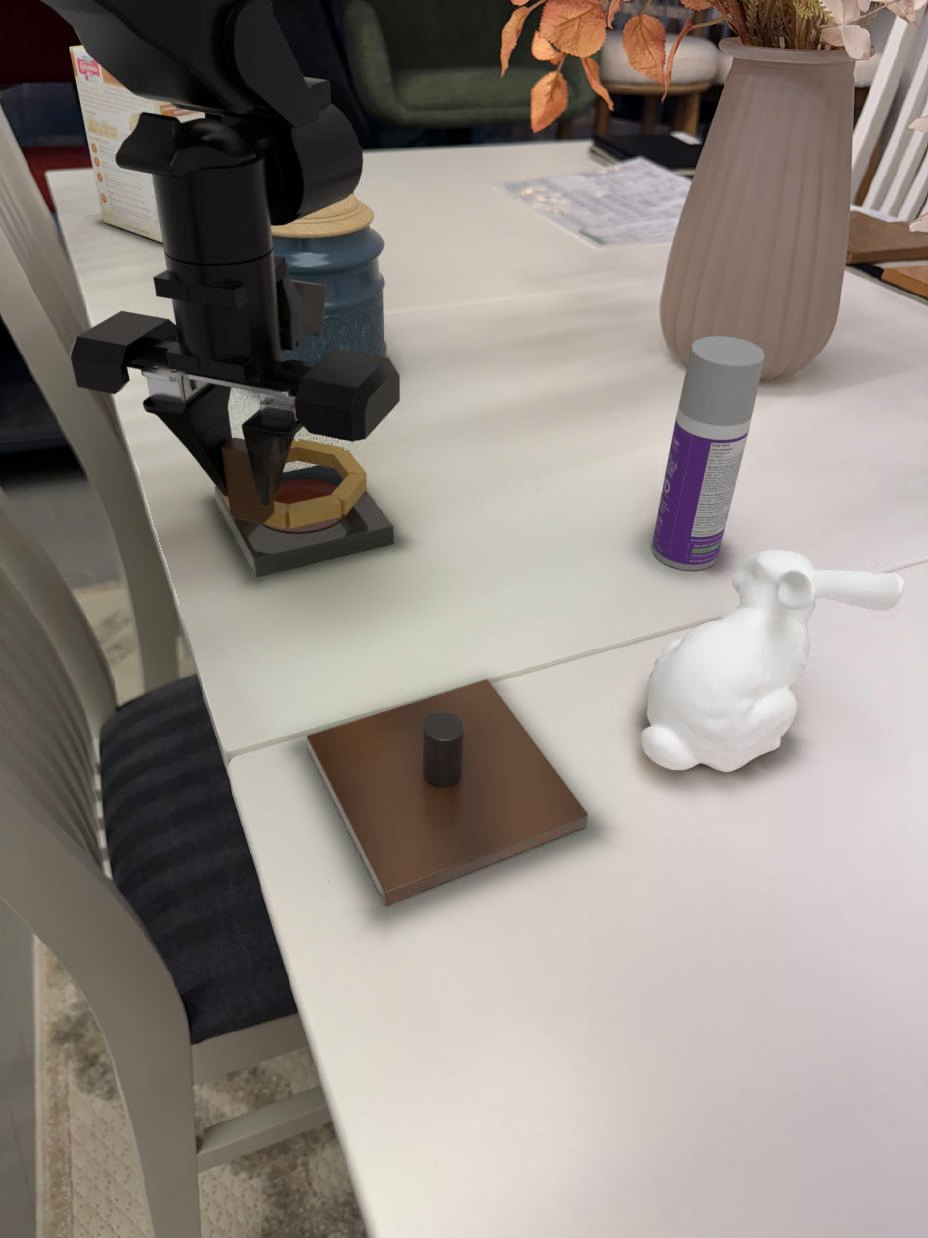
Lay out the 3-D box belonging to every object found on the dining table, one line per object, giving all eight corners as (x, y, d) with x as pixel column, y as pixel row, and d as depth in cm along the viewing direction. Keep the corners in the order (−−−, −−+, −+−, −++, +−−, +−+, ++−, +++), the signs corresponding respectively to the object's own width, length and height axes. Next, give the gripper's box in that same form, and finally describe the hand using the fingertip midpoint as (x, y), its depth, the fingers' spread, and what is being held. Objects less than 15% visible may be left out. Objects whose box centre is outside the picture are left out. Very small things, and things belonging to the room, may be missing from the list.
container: (638, 540, 68) (674, 340, 59) (693, 528, 70) (736, 330, 61) (674, 576, 65) (718, 370, 56) (731, 562, 67) (783, 359, 57)
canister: (251, 344, 93) (229, 148, 82) (384, 343, 94) (380, 149, 83) (240, 404, 83) (214, 189, 72) (389, 402, 84) (385, 191, 73)
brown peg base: (385, 906, 44) (383, 845, 41) (307, 748, 52) (301, 687, 49) (586, 827, 48) (597, 766, 45) (486, 691, 56) (490, 631, 53)
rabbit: (721, 650, 59) (766, 484, 52) (859, 732, 54) (932, 560, 46) (595, 745, 53) (626, 569, 45) (738, 848, 47) (800, 669, 40)
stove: (256, 577, 63) (253, 557, 62) (216, 503, 70) (213, 485, 69) (393, 543, 67) (393, 524, 66) (343, 476, 74) (342, 458, 73)
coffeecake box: (222, 236, 118) (200, 56, 106) (175, 249, 114) (147, 63, 101) (147, 210, 125) (119, 39, 113) (101, 222, 121) (65, 45, 109)
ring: (383, 469, 69) (381, 390, 65) (316, 551, 61) (309, 466, 57) (264, 445, 71) (255, 367, 67) (184, 521, 63) (168, 437, 59)
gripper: (434, 229, 55) (430, 467, 64) (152, 189, 59) (189, 418, 69) (356, 292, 46) (365, 554, 56) (34, 241, 51) (95, 492, 60)
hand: (250, 498), depth 61 cm, fingers closed on ring, 2 cm apart
